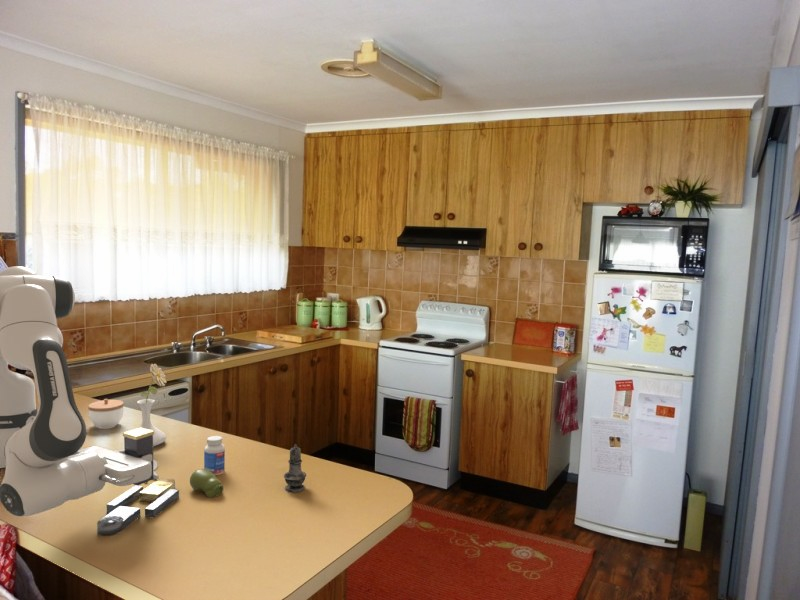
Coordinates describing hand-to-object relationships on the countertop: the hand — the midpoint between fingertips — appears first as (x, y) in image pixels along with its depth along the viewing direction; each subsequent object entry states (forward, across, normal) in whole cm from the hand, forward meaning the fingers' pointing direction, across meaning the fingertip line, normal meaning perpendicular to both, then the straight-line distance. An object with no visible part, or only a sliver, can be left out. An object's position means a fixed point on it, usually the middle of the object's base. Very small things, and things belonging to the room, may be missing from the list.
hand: (142, 454), depth 139 cm
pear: (+14, -6, +13) cm, 20 cm away
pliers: (+14, +18, +13) cm, 26 cm away
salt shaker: (+28, -23, +13) cm, 39 cm away
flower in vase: (+29, +36, +13) cm, 48 cm away
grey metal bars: (-4, -1, +13) cm, 14 cm away
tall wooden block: (-1, 0, +6) cm, 6 cm away
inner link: (+7, +3, +13) cm, 15 cm away
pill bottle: (+24, +2, +13) cm, 28 cm away
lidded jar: (+32, +61, +13) cm, 70 cm away
